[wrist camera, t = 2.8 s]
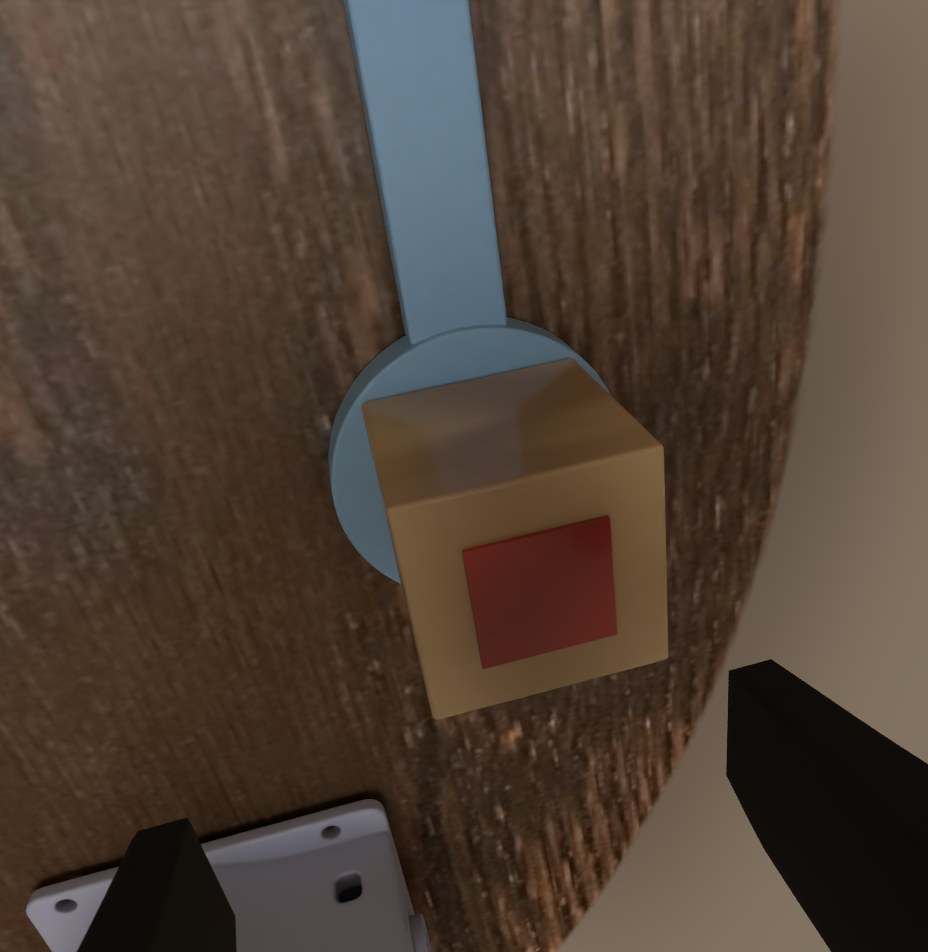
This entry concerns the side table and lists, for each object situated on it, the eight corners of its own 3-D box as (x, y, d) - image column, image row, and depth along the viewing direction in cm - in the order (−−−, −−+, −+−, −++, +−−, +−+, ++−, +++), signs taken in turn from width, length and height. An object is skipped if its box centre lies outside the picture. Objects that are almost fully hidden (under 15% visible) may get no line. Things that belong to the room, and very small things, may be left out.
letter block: (572, 356, 16) (668, 447, 12) (586, 536, 18) (673, 664, 14) (359, 401, 15) (386, 512, 11) (400, 580, 17) (435, 727, 14)
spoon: (565, -269, 12) (587, -295, 11) (614, 539, 19) (629, 561, 19) (150, -220, 11) (138, -244, 11) (361, 601, 19) (365, 626, 18)
